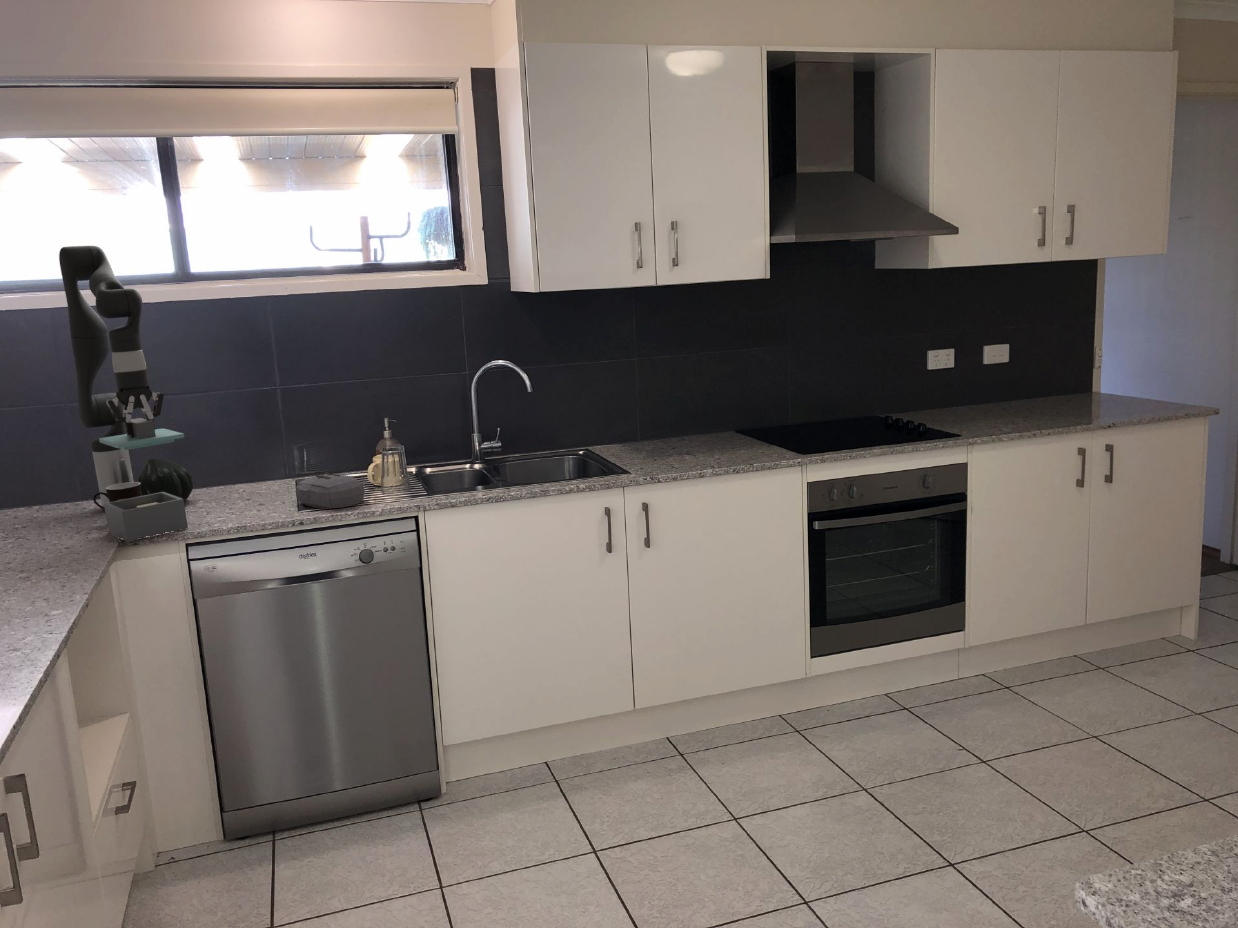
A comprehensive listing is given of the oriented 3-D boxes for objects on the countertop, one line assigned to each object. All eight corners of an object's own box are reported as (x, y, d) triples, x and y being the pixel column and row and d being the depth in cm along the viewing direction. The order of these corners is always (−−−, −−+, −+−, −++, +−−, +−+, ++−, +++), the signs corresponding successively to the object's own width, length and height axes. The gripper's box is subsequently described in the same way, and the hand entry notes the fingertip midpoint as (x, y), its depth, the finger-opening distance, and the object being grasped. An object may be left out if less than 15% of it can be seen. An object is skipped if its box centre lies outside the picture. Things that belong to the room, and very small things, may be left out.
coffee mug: (153, 517, 274) (147, 482, 272) (130, 525, 266) (124, 489, 264) (118, 516, 277) (112, 482, 275) (95, 525, 269) (88, 489, 267)
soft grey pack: (290, 506, 277) (332, 514, 264) (285, 477, 275) (328, 483, 263) (335, 494, 288) (378, 501, 276) (332, 466, 287) (374, 472, 274)
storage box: (109, 533, 259) (103, 503, 258) (168, 520, 269) (163, 491, 268) (127, 542, 248) (121, 511, 247) (188, 528, 258) (183, 498, 257)
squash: (210, 479, 294) (172, 443, 292) (184, 493, 279) (143, 456, 278) (182, 511, 297) (144, 476, 296) (155, 526, 283) (114, 490, 281)
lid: (100, 446, 256) (96, 423, 255) (164, 435, 267) (160, 413, 265) (118, 452, 245) (114, 428, 243) (185, 441, 255) (181, 418, 254)
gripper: (154, 365, 259) (165, 429, 262) (95, 371, 250) (107, 438, 253) (164, 366, 253) (174, 432, 257) (104, 373, 244) (115, 441, 248)
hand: (141, 435), depth 255 cm, fingers closed on lid, 4 cm apart
